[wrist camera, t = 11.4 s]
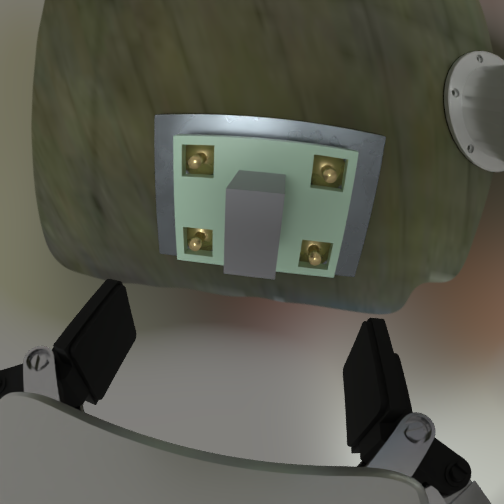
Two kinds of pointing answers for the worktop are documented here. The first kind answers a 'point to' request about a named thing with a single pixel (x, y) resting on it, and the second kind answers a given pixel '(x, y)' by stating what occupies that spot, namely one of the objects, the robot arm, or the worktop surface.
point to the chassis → (324, 167)
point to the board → (298, 204)
